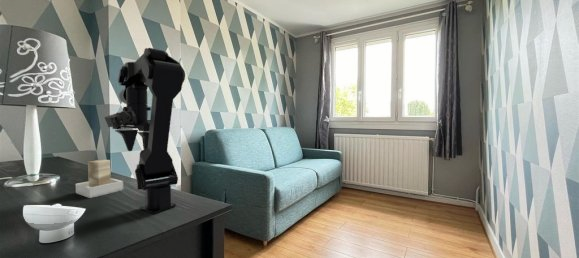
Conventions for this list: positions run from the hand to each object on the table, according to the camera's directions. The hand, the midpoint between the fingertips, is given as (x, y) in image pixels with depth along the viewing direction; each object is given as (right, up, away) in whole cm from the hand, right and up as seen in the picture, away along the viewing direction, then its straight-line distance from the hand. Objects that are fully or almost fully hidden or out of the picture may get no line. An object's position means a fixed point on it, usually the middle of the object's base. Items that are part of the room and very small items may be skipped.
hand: (138, 152), depth 77 cm
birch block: (-13, -12, 0) cm, 18 cm away
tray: (-13, -13, 0) cm, 18 cm away
